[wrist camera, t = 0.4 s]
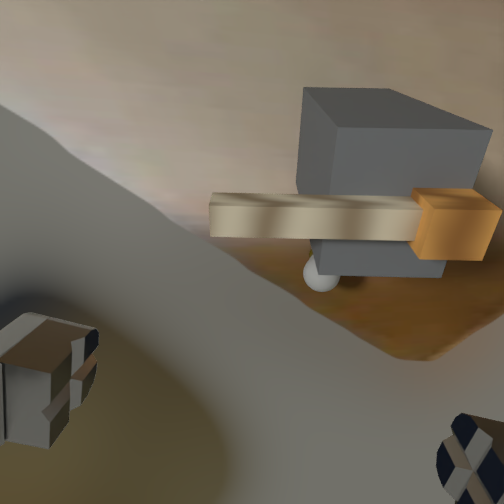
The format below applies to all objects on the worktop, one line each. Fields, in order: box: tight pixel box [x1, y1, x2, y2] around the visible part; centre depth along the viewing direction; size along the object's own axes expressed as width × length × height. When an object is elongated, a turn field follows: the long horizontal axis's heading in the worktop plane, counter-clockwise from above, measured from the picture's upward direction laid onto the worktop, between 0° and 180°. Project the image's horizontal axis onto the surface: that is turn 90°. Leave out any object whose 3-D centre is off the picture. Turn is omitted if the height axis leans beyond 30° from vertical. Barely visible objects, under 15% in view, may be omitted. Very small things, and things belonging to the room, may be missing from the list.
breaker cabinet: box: [296, 87, 493, 278], centre depth 42 cm, size 13×14×26 cm
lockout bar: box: [209, 188, 503, 261], centre depth 29 cm, size 22×4×4 cm, turn 89°
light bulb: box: [303, 249, 340, 292], centre depth 59 cm, size 6×6×10 cm
